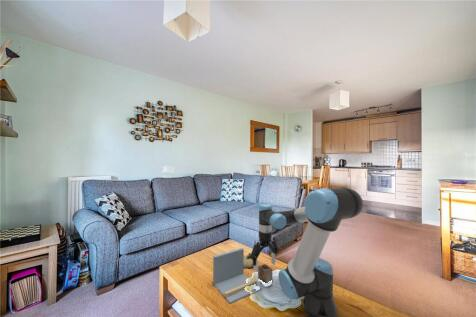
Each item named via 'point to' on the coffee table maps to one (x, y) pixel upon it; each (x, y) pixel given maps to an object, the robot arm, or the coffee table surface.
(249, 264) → the acorn cap
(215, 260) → the bracket
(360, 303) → the coffee table surface
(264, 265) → the cabinet block
